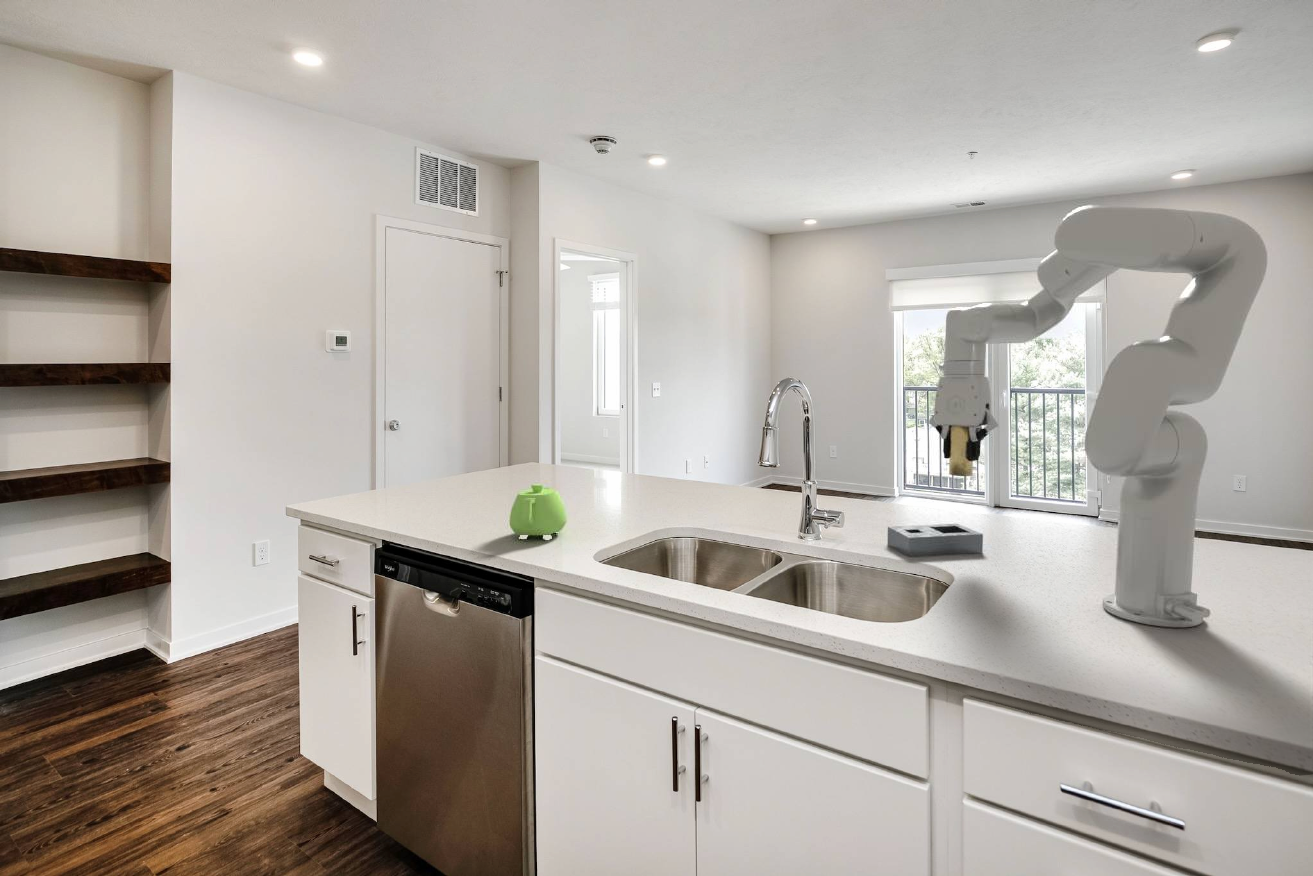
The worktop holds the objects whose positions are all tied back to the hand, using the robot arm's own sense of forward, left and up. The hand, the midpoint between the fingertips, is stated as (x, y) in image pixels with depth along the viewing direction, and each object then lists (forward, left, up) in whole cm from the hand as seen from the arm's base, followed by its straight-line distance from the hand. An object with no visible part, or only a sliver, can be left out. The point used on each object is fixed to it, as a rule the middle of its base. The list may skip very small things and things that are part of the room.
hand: (961, 458), depth 140 cm
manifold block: (+4, +3, -20) cm, 21 cm away
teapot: (+33, +88, -20) cm, 96 cm away
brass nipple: (0, 0, -3) cm, 3 cm away
